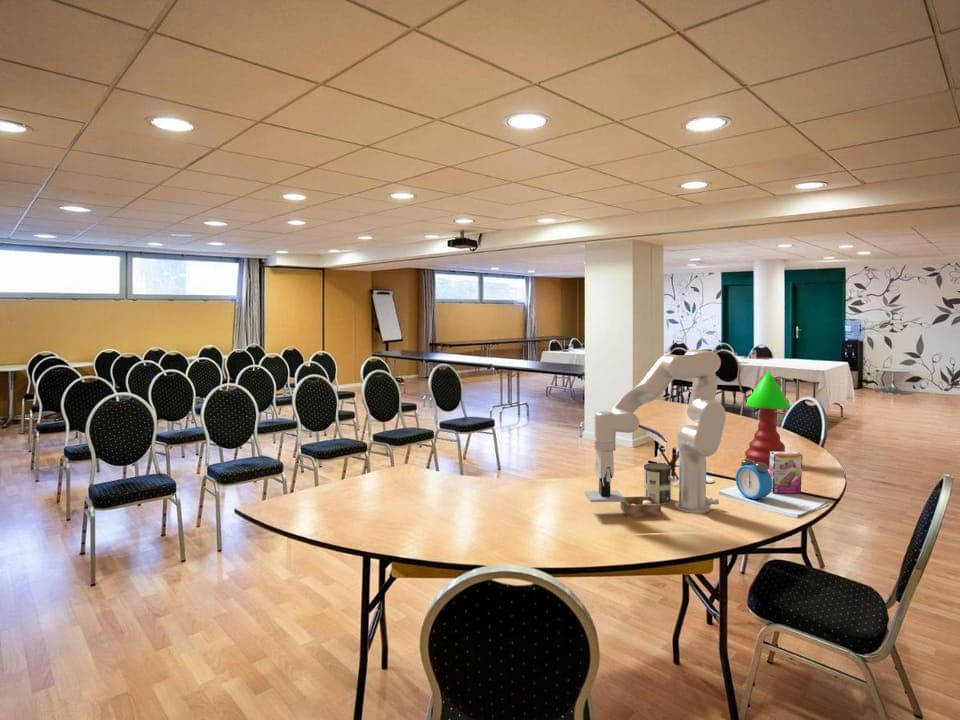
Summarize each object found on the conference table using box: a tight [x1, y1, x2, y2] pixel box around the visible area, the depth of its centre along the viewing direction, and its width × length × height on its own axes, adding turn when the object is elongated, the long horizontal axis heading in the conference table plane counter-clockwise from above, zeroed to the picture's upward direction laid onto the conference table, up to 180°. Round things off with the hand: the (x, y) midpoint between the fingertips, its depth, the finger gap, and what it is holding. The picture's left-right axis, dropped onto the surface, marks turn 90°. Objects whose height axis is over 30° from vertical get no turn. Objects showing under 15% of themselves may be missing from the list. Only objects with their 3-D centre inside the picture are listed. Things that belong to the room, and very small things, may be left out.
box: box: [619, 495, 662, 519], centre depth 217 cm, size 12×10×5 cm
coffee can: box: [643, 462, 672, 505], centre depth 231 cm, size 10×10×14 cm
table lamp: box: [743, 370, 792, 469], centre depth 283 cm, size 20×20×45 cm
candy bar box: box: [768, 451, 803, 495], centre depth 239 cm, size 11×5×16 cm, turn 84°
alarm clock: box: [735, 458, 772, 500], centre depth 233 cm, size 13×6×15 cm, turn 22°
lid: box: [584, 479, 625, 503], centre depth 216 cm, size 12×10×6 cm
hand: (604, 494), depth 216 cm, fingers closed on lid, 3 cm apart
